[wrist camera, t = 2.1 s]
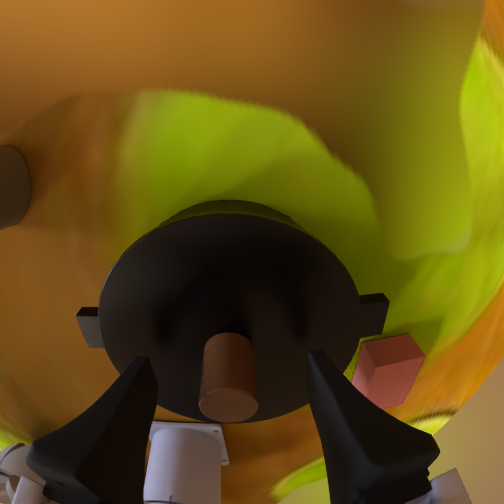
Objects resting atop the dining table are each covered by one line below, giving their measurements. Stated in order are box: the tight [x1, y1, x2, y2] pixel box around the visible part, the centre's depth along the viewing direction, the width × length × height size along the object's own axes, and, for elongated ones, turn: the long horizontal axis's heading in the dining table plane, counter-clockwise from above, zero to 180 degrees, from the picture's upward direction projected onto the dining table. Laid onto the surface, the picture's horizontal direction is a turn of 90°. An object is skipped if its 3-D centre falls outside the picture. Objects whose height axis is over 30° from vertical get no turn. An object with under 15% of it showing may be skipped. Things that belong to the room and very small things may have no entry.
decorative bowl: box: [0, 443, 46, 504], centre depth 23 cm, size 30×30×15 cm
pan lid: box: [98, 211, 362, 423], centre depth 12 cm, size 14×14×5 cm
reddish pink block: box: [352, 334, 425, 409], centre depth 20 cm, size 6×4×3 cm
